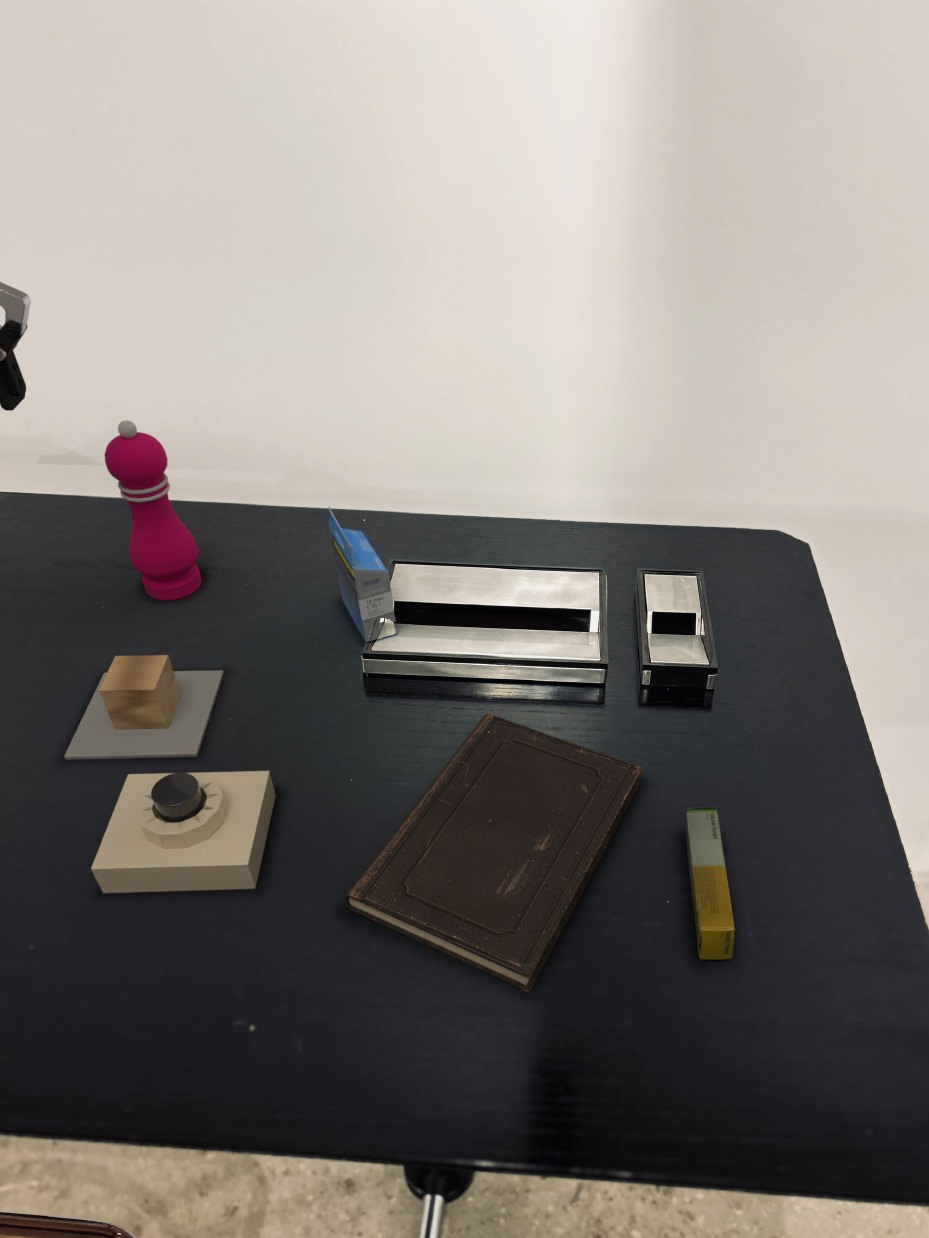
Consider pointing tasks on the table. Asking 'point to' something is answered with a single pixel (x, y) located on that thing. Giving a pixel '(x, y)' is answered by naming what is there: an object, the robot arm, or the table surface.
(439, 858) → the hardcover book
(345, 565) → the label tape box
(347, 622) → the table surface
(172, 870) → the dial knob box
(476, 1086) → the table surface
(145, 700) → the block
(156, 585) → the pepper mill
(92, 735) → the pad
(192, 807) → the button
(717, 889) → the medication box
